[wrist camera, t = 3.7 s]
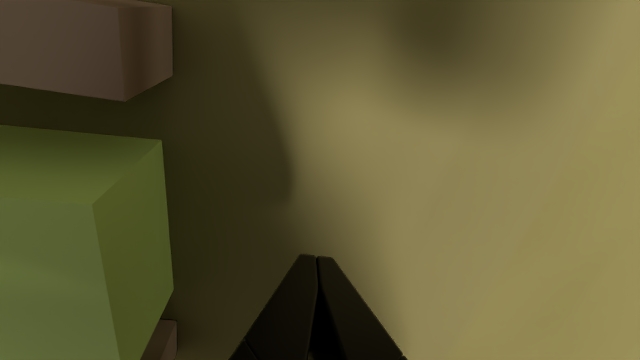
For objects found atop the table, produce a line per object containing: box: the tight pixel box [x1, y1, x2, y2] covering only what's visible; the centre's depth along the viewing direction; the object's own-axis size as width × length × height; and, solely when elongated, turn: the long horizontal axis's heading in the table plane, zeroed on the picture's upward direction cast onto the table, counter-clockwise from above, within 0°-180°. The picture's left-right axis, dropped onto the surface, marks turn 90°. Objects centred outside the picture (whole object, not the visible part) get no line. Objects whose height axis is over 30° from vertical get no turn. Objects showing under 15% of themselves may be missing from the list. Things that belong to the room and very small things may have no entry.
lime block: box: [0, 125, 174, 360], centre depth 9 cm, size 5×5×4 cm
